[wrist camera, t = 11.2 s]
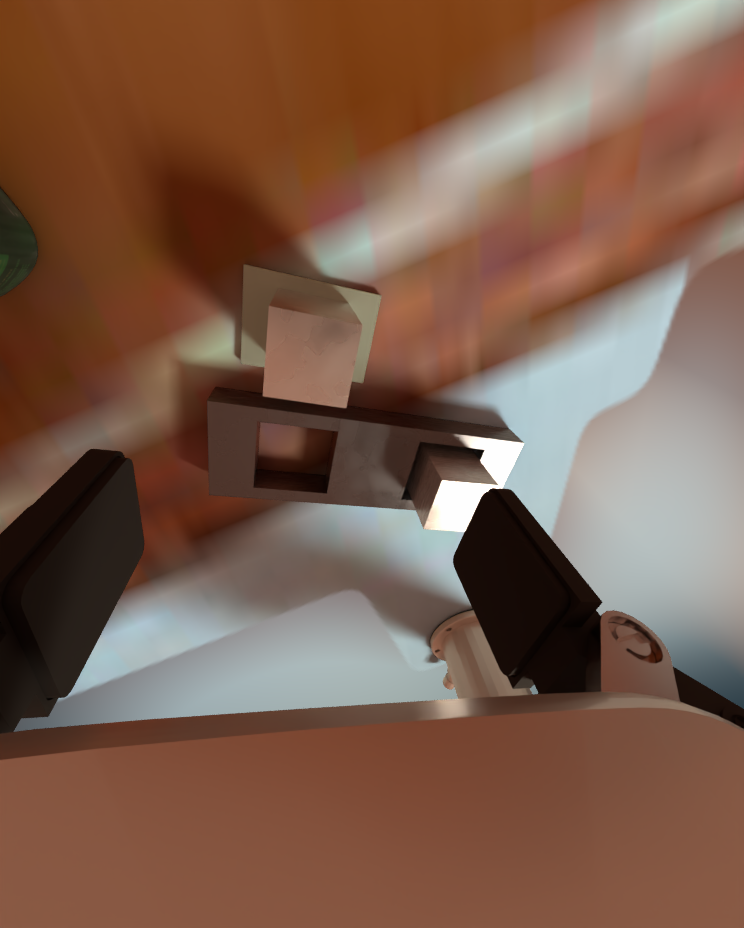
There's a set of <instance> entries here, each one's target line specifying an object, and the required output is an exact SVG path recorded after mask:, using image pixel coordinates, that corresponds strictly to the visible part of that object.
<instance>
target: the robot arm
mask: <svg viewBox="0 0 744 928" xmlns="http://www.w3.org/2000/svg"><path fill="white" fill-rule="evenodd" d="M143 550H144V536H143V529H142V523H141V516H140V509H139V502H138V495H137V489H136V482H135V475H134V468H133V463H132V460H131V459H129V458H125V457H124V455H123V453H122V452H120V451H110V450H100V449H90V450H89V451H87V452H86V453H85V454H84V455H83V456H82V457H81V458H80V459H79V460H78V461H77V462H76V463H75V464H74V465H73V466H72V467H71V468H70V469H69V470H68V471H67V472H66V473H65V474H64V475H63V476H62V477H61V478H60V479H59V480H58V481H57V482H56V483H54V484H53V485H52V486H51V487H50V488H49V489H48V490H47V491H46V492H45V493H44V494H43V495H42V496H41V497H40V498H39V499H38V500H37V501H36V502H35V503H34V504H33V505H31V506H30V507H28V508H27V509H26V510H25V511H24V512H23V513H22V514H21V515H20V516H19V517H18V518H17V519H16V520H15V521H13V522H12V523H11V524H10V525H9V526H8V527H7V528H6V529H5V530H4V531H3V532H2V533H1V534H0V928H744V709H743V708H741V707H739V706H738V705H736V704H734V703H733V702H731V701H729V700H728V699H726V698H724V697H723V696H721V695H719V694H718V693H716V692H714V691H713V690H711V689H709V688H708V687H706V686H704V685H703V684H701V683H699V682H698V681H696V680H694V679H693V678H691V677H689V676H687V675H686V674H684V673H683V672H681V671H679V670H678V669H676V668H674V667H673V666H672V661H671V657H670V655H669V652H668V650H667V648H666V646H665V645H664V644H663V642H662V641H661V639H660V638H659V637H658V636H657V635H656V634H655V633H654V632H653V631H652V630H651V629H649V628H648V627H647V626H646V625H645V624H643V623H642V622H640V621H638V620H637V619H635V618H634V617H632V616H630V615H627V614H625V613H623V612H619V611H614V610H613V611H606V612H605V613H603V614H602V615H601V616H600V615H599V614H598V612H597V611H596V609H597V608H598V607H599V606H600V605H601V603H602V601H601V600H600V599H599V598H598V596H597V595H596V594H595V593H594V591H593V590H592V589H591V587H590V586H589V585H588V584H587V583H586V581H585V580H584V579H583V578H582V576H581V575H580V574H579V573H578V571H577V570H576V569H575V568H574V567H573V565H572V564H571V563H570V562H569V560H568V559H567V558H566V557H565V555H564V554H563V553H562V552H561V550H560V549H559V548H558V547H557V546H556V544H555V543H554V542H553V540H552V539H551V538H550V537H549V536H548V534H547V533H546V532H545V531H544V529H543V528H542V527H541V526H540V524H539V523H538V522H537V521H536V519H535V518H534V517H533V516H532V514H531V513H530V512H529V511H528V510H527V508H526V507H525V506H524V505H523V503H522V502H521V501H520V500H519V498H518V497H517V496H516V495H515V493H514V492H513V491H512V490H509V489H501V488H490V489H489V490H488V491H487V492H484V493H483V494H482V496H481V498H480V500H479V502H478V505H477V507H476V509H475V511H474V513H473V515H472V518H471V520H470V522H469V524H468V526H467V528H466V530H465V533H464V535H463V537H462V539H461V541H460V543H459V546H458V548H457V550H456V552H455V554H454V558H453V563H454V567H455V570H456V572H457V574H458V577H459V579H460V581H461V583H462V586H463V588H464V590H465V592H466V595H467V597H468V599H469V601H470V604H471V606H472V608H473V610H471V611H466V612H463V613H460V614H458V615H456V616H453V617H451V618H450V619H448V620H446V621H445V622H444V623H442V624H441V625H440V626H439V627H438V628H437V629H436V630H435V632H434V633H433V635H432V637H431V640H430V645H431V648H432V651H433V653H434V655H435V656H436V657H437V658H439V659H441V660H444V661H446V663H447V666H448V670H447V671H448V673H447V674H446V676H445V677H444V679H443V684H444V686H445V687H446V688H447V689H453V688H454V687H455V690H456V693H457V696H458V699H449V700H434V701H417V702H401V703H385V704H369V705H355V706H339V707H323V708H308V709H294V710H278V711H264V712H250V713H236V714H221V715H207V716H192V717H178V718H164V719H150V720H138V721H125V722H114V723H103V724H91V725H79V726H67V727H56V728H45V729H33V730H26V731H18V732H13V731H14V730H15V728H16V726H17V724H18V723H19V721H20V719H21V718H34V717H48V716H49V714H50V713H51V711H52V709H53V707H54V705H55V703H56V701H57V700H58V698H63V697H66V696H67V695H68V694H69V693H70V692H71V690H72V688H73V687H74V685H75V683H76V681H77V679H78V677H79V675H80V673H81V671H82V670H83V668H84V666H85V664H86V662H87V660H88V658H89V656H90V654H91V652H92V650H93V648H94V646H95V645H96V643H97V641H98V639H99V637H100V635H101V633H102V631H103V629H104V627H105V625H106V623H107V621H108V620H109V618H110V616H111V614H112V612H113V610H114V608H115V606H116V604H117V602H118V600H119V598H120V596H121V595H122V593H123V591H124V589H125V587H126V585H127V583H128V581H129V579H130V577H131V575H132V573H133V572H134V570H135V568H136V566H137V564H138V562H139V560H140V558H141V556H142V553H143ZM533 685H535V686H536V689H537V690H538V694H535V695H533V694H532V692H531V691H530V688H531V687H532V686H533Z"/></svg>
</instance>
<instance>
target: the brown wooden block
mask: <svg viewBox="0 0 744 928" xmlns="http://www.w3.org/2000/svg"><path fill="white" fill-rule="evenodd" d="M406 486H407V489H408V492H409V494H410V497H411V499H412V502H413V504H414V507H415V509H416V512H417V514H418V517H419V519H420V522H421V524H422V527H423V529H432V530H448V531H465V530H466V528H467V526H468V524H469V522H470V520H471V518H472V515H473V513H474V511H475V509H476V507H477V505H478V502H479V500H480V498H481V496H482V494H483V493H484V492H487V491H488V490H489V489H490V488H499V485H498V483H497V482H496V481H495V480H494V478H493V477H492V476H491V474H490V473H489V472H488V470H487V469H486V468H485V467H484V465H483V464H482V463H481V461H480V460H479V459H478V457H477V456H476V455H475V454H474V452H473V451H472V450H471V448H467V447H459V446H451V445H443V444H435V443H427V442H420V443H419V446H418V449H417V452H416V455H415V458H414V462H413V465H412V468H411V471H410V474H409V477H408V480H407V483H406Z"/></svg>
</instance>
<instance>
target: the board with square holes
mask: <svg viewBox="0 0 744 928" xmlns="http://www.w3.org/2000/svg"><path fill="white" fill-rule="evenodd" d="M207 418H208V465H209V495H215V496H229V497H243V498H256V499H270V500H283V501H297V502H310V503H324V504H338V505H351V506H365V507H378V508H392V509H406V510H416V509H415V507H414V504H413V502H412V499H411V497H410V494H409V492H408V489H407V486H406V483H407V480H408V477H409V474H410V471H411V468H412V465H413V462H414V458H415V455H416V452H417V449H418V446H419V443H420V442H427V443H435V444H443V445H451V446H459V447H467V448H471V450H472V451H473V452H474V454H475V455H476V456H477V457H478V459H479V460H480V461H481V463H482V464H483V465H484V467H485V468H486V469H487V470H488V472H489V473H490V474H491V476H492V477H493V478H494V480H495V481H496V482H497V483H498V485H499V488H501V489H502V487H503V485H504V483H505V481H506V479H507V477H508V475H509V473H510V471H511V469H512V467H513V465H514V463H515V461H516V459H517V457H518V455H519V453H520V451H521V449H522V447H523V445H524V442H523V441H521V440H520V439H519V438H518V437H517V436H516V435H515V434H514V433H513V432H512V431H511V430H510V429H506V428H499V427H492V426H485V425H478V424H471V423H464V422H457V421H450V420H443V419H436V418H430V417H423V416H416V415H409V414H402V413H395V412H388V411H381V410H374V409H367V408H360V407H353V406H347V407H346V408H340V407H333V406H326V405H319V404H313V403H306V402H299V401H292V400H285V399H278V398H271V397H264V396H263V394H262V393H255V392H248V391H241V390H234V389H227V388H220V387H215V389H214V390H213V392H212V394H211V395H210V397H209V399H208V400H207ZM260 422H266V423H274V424H282V425H290V426H298V427H306V428H314V429H322V430H330V431H333V436H332V442H331V447H330V453H329V459H328V464H327V470H326V475H325V476H324V475H313V474H303V473H292V472H281V471H270V470H260V469H257V466H258V450H259V434H260Z"/></svg>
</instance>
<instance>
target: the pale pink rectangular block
mask: <svg viewBox="0 0 744 928" xmlns="http://www.w3.org/2000/svg"><path fill="white" fill-rule="evenodd" d="M362 327H363V325H362V323H361V322H360V320H359V318H358V317H357V315H356V314H355V312H354V311H353V309H352V307H351V306H350V304H349V303H346V302H341V301H337V300H332V299H328V298H323V297H319V296H314V295H310V294H305V293H301V292H296V291H291V290H287V289H282V288H278V290H277V292H276V293H275V295H274V297H273V299H272V301H271V303H270V305H269V311H268V326H267V341H266V355H265V370H264V385H263V396H264V397H271V398H278V399H285V400H292V401H299V402H306V403H313V404H319V405H326V406H333V407H340V408H346V407H347V402H348V397H349V392H350V387H351V382H352V377H353V372H354V367H355V362H356V357H357V352H358V347H359V342H360V337H361V332H362Z"/></svg>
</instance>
